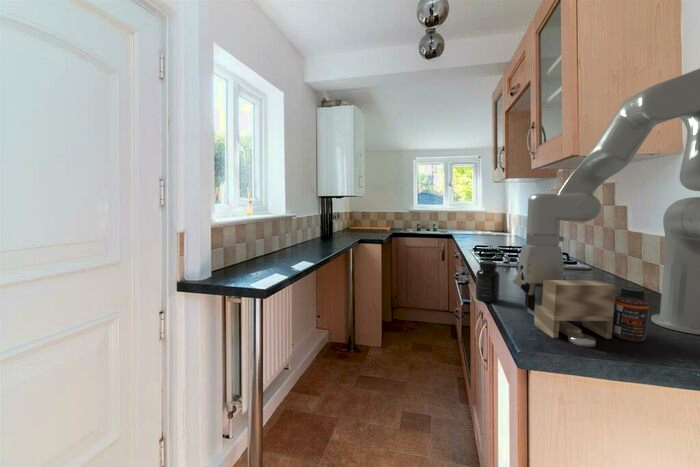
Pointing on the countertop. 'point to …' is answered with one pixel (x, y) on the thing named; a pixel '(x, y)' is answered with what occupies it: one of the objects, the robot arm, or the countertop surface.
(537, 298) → the grey rectangular block
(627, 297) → the supplement bottle
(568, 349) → the countertop surface
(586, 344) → the steel token
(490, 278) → the supplement bottle
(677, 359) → the countertop surface
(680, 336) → the countertop surface
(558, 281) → the oak step stool
